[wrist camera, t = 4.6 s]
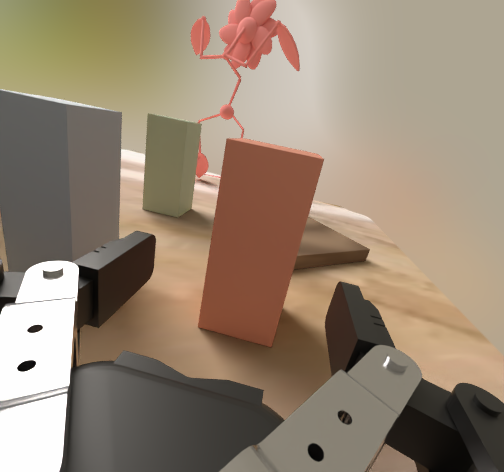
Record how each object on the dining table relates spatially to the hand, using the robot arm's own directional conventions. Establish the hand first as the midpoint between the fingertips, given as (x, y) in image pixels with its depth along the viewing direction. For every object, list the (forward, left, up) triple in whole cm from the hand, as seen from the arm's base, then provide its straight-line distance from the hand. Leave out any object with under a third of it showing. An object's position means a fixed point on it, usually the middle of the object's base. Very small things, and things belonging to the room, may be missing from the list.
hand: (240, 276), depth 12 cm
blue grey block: (-14, -6, -7) cm, 17 cm away
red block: (-5, +4, -7) cm, 9 cm away
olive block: (-29, +5, -7) cm, 30 cm away
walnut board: (-18, +18, -7) cm, 27 cm away
